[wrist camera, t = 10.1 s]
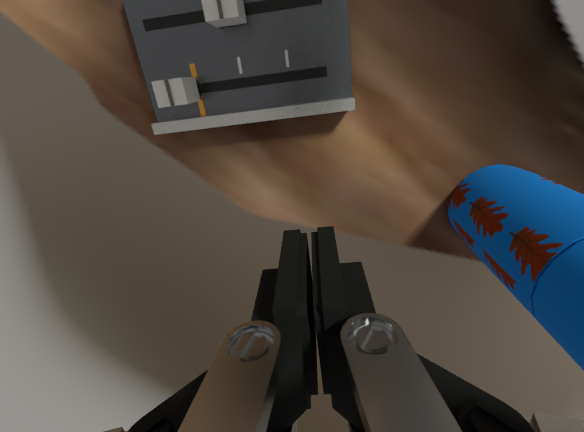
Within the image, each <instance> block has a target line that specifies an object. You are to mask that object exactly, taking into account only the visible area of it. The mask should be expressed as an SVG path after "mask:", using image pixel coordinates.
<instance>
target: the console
mask: <svg viewBox="0 0 584 432" xmlns="http://www.w3.org/2000/svg"><path fill="white" fill-rule="evenodd" d="M122 2H123V5H124V8H125V12H126V15H127V19H128V22H129V26H130V29H131V33H132V36H133V40H134V43H135V46H136V50H137V53H138V57H139V60H140V64H141V67H142V71H143V74H144V77H145V81H146V84H147V88H148V91H149V95H150V98H151V102H152V105H153V108H154V112H155V115H156V119H157V122H155V123H152V124H151V125H152V129H153V132H154V135H158V134H166V133H174V132H182V131H190V130H198V129H206V128H214V127H222V126H230V125H238V124H246V123H254V122H262V121H270V120H278V119H286V118H294V117H302V116H310V115H318V114H326V113H334V112H342V111H350V110H355V99H354V97H352V76H351V53H350V30H349V8H348V0H243V2H244V8H245V14H246V21H247V23H244V24H238V25H231V26H225V27H218V28H217V27H215V26H213V25H211V24H209V23H207V22H206V21H205V16H204V11H203V6H202V1H201V0H122ZM180 77H195V79H196V83H197V87H198V92H199V96H200V100H201V101H198V102H194V103H190V104H185V105H177V106H170V107H162V108H158V104H157V101H156V97H155V94H154V90H153V87H152V83H151V82H152V81H159V80H166V79H173V78H180Z"/></svg>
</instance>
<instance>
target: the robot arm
mask: <svg viewBox="0 0 584 432" xmlns="http://www.w3.org/2000/svg"><path fill="white" fill-rule="evenodd" d="M317 231H318V232H312V233H311V237H312V274H311V266H310V257H309V249H308V240H307V233H301V232H300V230H299V229H297V230H287V231H284V233H283V241H282V247H281V254H280V260H279V267H278V268H277V269H265V270H263V272H262V275H261V279H260V284H259V289H258V293H257V297H256V301H255V306H254V310H253V315H252V319H251V321H249V322H246V323H243V324H241V325H239V326H237V327H235V328H234V329H233V330H232V331H230V332H229V333H228V334H227V335H226V337H225V338H224V340H223V342H222V344H221V346H220V348H219V350H218V352H217V354H216V356H215V358H214V360H213V362H212V364H211V366H210V368H209V369H208V370H207V371H205V372H204V373H203V374H201V375H200V376H199V377H197V378H196V379H194V380H193V381H192V382H190V383H189V384H188V385H186V386H185V387H184V388H182V389H181V390H179V391H178V392H177V393H175V394H174V395H172V396H171V397H170V398H168V399H167V400H165V401H164V402H163V403H161V404H160V405H159V406H157V407H156V408H154V409H153V410H152V411H150V412H149V413H147V414H146V415H145V416H143V417H142V418H141V419H140V420H139V421H137V422H136V423H135V424H134V425H133V426H132V427H131V428H130V429H129V431H124V430H123V428H122V427H120V428H116V429H112V430H109V431H105V432H297V421H296V420H297V419H298V418H299V417H300V416H301V415H302V414H303V413H304V412H305V411H306V410H307V409H310V408H311V395H318V381H317V354H316V353H317V352H316V334H317V342H318V350H319V358H320V366H321V374H322V383H323V391H324V394H331V397H332V406H333V409H335V410H336V411H337V412H338V413H339V414H340V415H342V416H343V417H344V418H345V419H346V420H347V421H348V429H349V432H584V420H578V419H572V418H566V417H560V416H554V415H548V414H542V413H536V412H533V415H532V418H531V417H526V416H522V415H521V414H520V413H519V412H517V411H516V410H514V409H513V408H512V407H510V406H509V405H507V404H506V403H504V402H502V401H500V400H499V399H497V398H495V397H493V396H492V395H490V394H488V393H486V392H485V391H483V390H481V389H479V388H477V387H475V386H474V385H472V384H470V383H469V382H467V381H465V380H463V379H461V378H460V377H457V376H456V375H454V374H452V373H451V372H449V371H447V370H445V369H444V368H442V367H440V366H438V365H436V364H435V363H433V362H431V361H429V360H428V359H426V358H424V357H422V356H420V355H419V354H417V353H416V352H415V350H414V349H413V347H412V345H411V343H410V342H409V340H408V338H407V337H406V335H405V333H404V331H403V330H402V329H401V327H400V326H399V325H398V324H397V323H396V322H395V321H393V320H392V319H391V318H389V317H386V316H384V315H381V314H376V312H375V308H374V305H373V301H372V298H371V294H370V291H369V288H368V284H367V280H366V277H365V273H364V270H363V266H362V263H361V262H351V263H339V258H338V252H337V246H336V240H335V234H334V228H333V226H330V227H319V228H317ZM312 277H313V282H312Z"/></svg>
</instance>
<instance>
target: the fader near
mask: <svg viewBox="0 0 584 432" xmlns="http://www.w3.org/2000/svg"><path fill="white" fill-rule="evenodd" d="M201 1H202V6H203V11H204V16H205V21H206V22H207V23H209V24H211V25H213V26H215V27H217V28H218V27H225V26H231V25H238V24H244V23H247V21H246V14H245V8H244V2H243V0H201Z"/></svg>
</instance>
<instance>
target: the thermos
mask: <svg viewBox="0 0 584 432" xmlns="http://www.w3.org/2000/svg"><path fill="white" fill-rule="evenodd" d="M448 216H449V220H450V224H451V225H452V226H453V227H454V229H455V230H456V231H457V232H458V234H459V235H460V236H461V238H462V239H463V240H464V241H465V243H466V244H467V245H468V246H469V248H470V249H471V250H472V251H473V252H474V253H475V254H476V255H477V256H478V257H479V259H480V260H481V261H482V262H483V263H484V264H485V265H486V266H487V267H488V268H489V269H490V270H491V271H492V273H494V275H495V276H496V277H497V278H498V279H499V280H500V281H501V282H502V283H503V284H504V285H505V286H506V288H507V289H508V290H509V291H510V292H511V293H512V294H513V295H514V296H515V297H516V298H517V299H518V300H519V301H520V303H521V304H522V305H523V306H524V307H525V308H526V309H527V310H528V311H529V312H530V313H531V314H532V315H533V317H534V318H536V320H537V321H538V322H539V323H540V324H541V325H542V326H543V327H544V328H545V329H546V331H547V332H548V333H549V334H550V335H551V336H552V337H553V338H554V339H555V340H556V341H557V342H558V343H559V344H560V346H562V348H563V349H564V350H565V351H566V352H567V353H568V354H569V355H570V356H571V357H572V359H573V360H574V361H575V362H576V363H577V364H578V365H579V366H580V367H581V368H582V369H583V370H584V195H583V194H581V193H578V192H576V191H574V190H572V189H569V188H567V187H565V186H562V185H560V184H558V183H556V182H553V181H551V180H549V179H547V178H544V177H542V176H540V175H537V174H535V173H532V172H529V171H526V170H523V169H520V168H517V167H515V166H508V165H501V164H498V165H493V166H487V167H483V168H481V169H479V170H477V171H475V172H473V173H471V174H469V175H468V176H467V177H466V178H465V179H464V180H463V181H462V182H461V183H460V184H458V185H457V187H456V189H455V190H454V192H453V194H452V196H451V197H450V200H449V206H448Z"/></svg>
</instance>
